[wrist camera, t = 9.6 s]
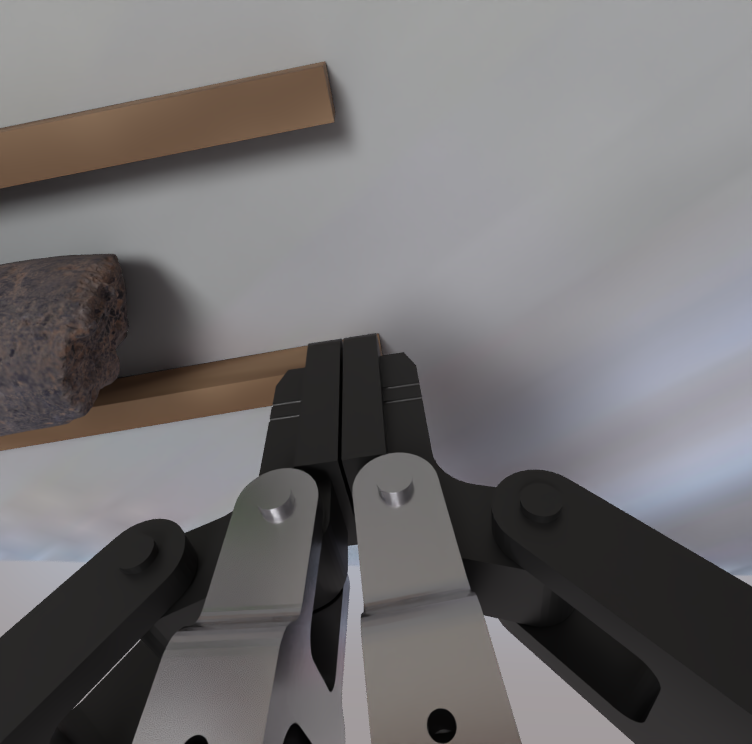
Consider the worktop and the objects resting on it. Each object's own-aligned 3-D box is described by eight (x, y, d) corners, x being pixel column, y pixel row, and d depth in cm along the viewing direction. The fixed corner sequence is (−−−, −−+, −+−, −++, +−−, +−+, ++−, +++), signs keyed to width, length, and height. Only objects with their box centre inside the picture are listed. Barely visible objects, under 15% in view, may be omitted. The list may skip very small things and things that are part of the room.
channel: (-367, 203, 17) (-505, 239, 15) (325, 61, 16) (321, 70, 13) (-114, 444, 24) (-174, 500, 22) (383, 360, 23) (389, 408, 20)
